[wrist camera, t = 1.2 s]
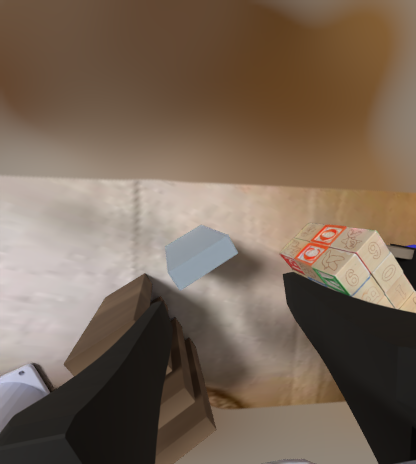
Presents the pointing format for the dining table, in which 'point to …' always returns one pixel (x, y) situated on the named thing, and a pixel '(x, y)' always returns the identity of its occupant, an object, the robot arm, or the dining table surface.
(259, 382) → the dining table surface
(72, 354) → the domino
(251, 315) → the dining table surface
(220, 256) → the domino
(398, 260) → the figurine character
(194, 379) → the domino
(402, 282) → the stack of blocks
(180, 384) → the domino
